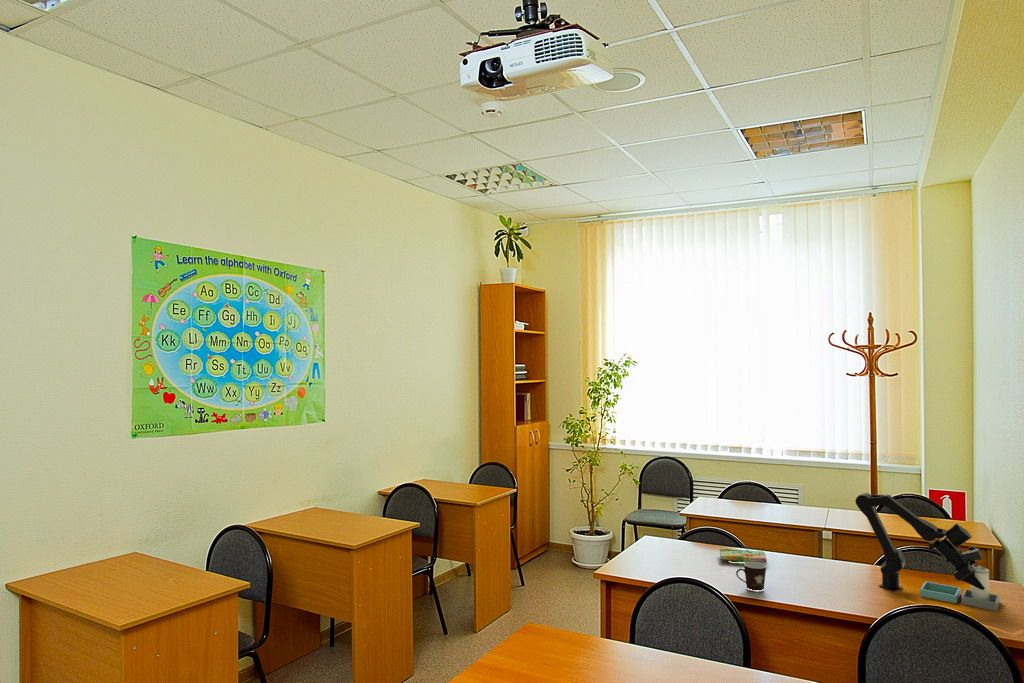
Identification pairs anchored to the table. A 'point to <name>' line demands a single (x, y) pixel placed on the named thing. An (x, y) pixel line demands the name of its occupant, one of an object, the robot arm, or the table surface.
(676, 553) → the table surface
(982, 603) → the bin
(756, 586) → the coffee mug
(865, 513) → the robot arm
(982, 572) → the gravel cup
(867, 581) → the table surface
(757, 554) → the puzzle game
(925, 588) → the bin
